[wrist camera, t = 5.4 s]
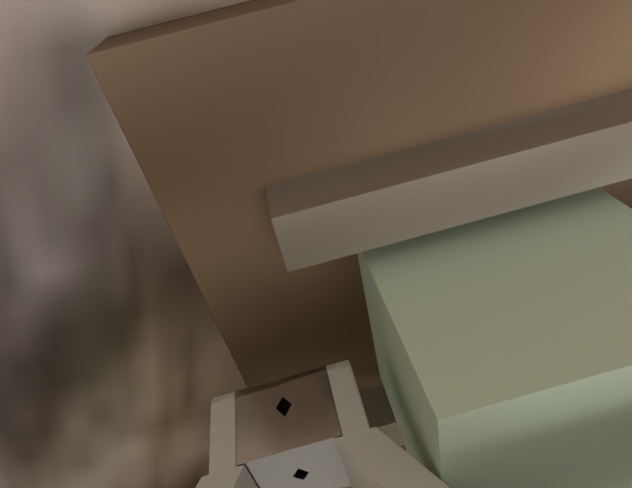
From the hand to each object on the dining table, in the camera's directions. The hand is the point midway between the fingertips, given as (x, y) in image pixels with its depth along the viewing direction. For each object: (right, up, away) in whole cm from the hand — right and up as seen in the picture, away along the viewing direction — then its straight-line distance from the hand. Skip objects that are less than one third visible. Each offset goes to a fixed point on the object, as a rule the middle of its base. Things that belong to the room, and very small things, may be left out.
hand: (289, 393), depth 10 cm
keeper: (+4, +2, +1) cm, 5 cm away
